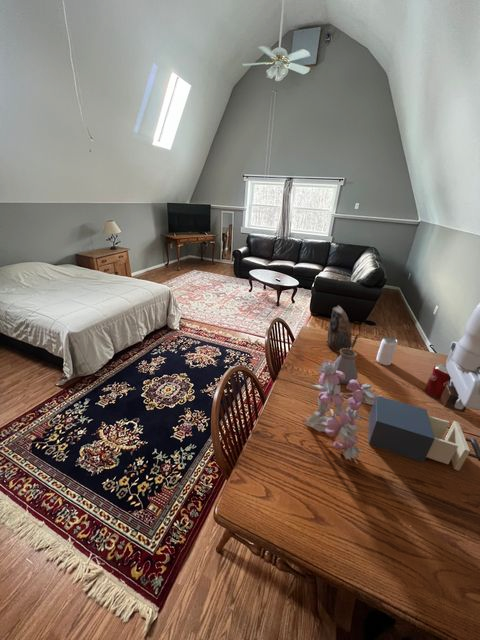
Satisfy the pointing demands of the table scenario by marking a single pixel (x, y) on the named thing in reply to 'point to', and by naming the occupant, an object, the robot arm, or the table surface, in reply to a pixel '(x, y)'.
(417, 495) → the table surface
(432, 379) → the soda can
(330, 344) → the owl
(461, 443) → the cream drawer
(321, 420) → the flower
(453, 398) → the block
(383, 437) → the cabinet
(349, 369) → the coffee pot
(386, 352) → the can
